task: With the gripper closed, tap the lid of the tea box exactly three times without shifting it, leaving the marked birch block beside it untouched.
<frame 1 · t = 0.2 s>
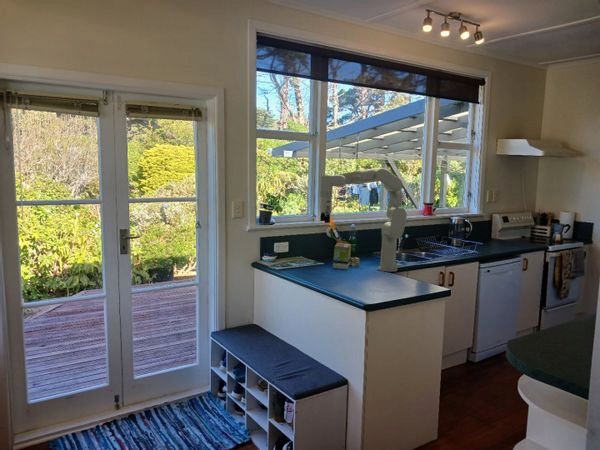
hand: (324, 221, 283), 31 cm above the worktop, tool pointing down, fingers open, 9 cm apart
tea box: (341, 266, 301), on the worktop
birch block: (354, 265, 306), on the worktop
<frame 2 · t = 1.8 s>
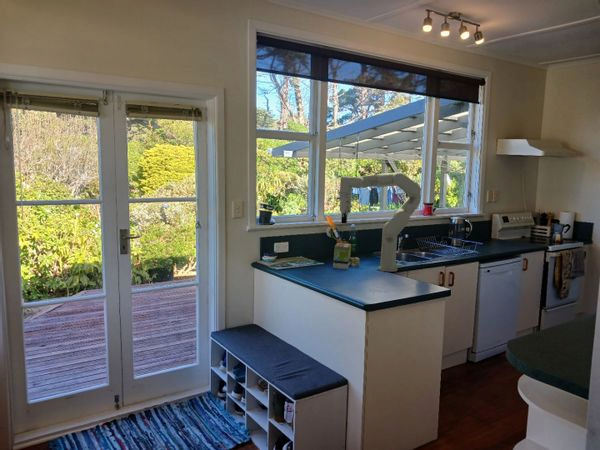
hand: (343, 223, 297), 29 cm above the worktop, tool pointing down, fingers closed
nothing on the worktop moved.
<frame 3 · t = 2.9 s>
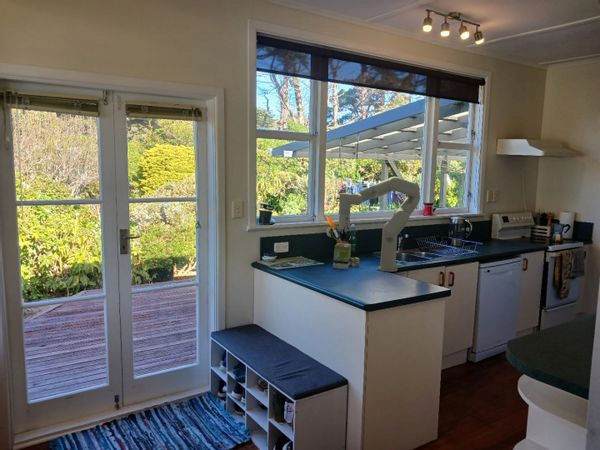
hand: (342, 239, 298), 18 cm above the worktop, tool pointing down, fingers closed
nothing on the worktop moved.
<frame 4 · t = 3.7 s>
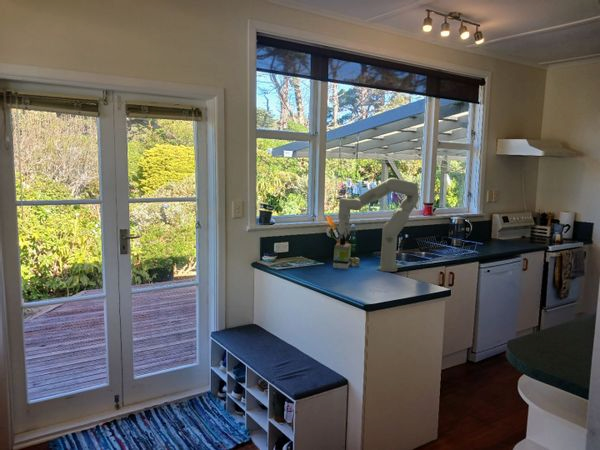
hand: (342, 244, 299), 15 cm above the worktop, tool pointing down, fingers closed
tea box: (341, 266, 301), on the worktop, touching gripper
everything else where it was.
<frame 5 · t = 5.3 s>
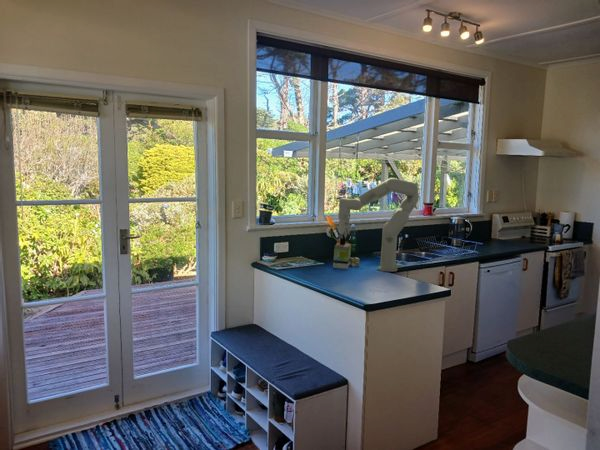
hand: (342, 244, 299), 15 cm above the worktop, tool pointing down, fingers closed
nothing on the worktop moved.
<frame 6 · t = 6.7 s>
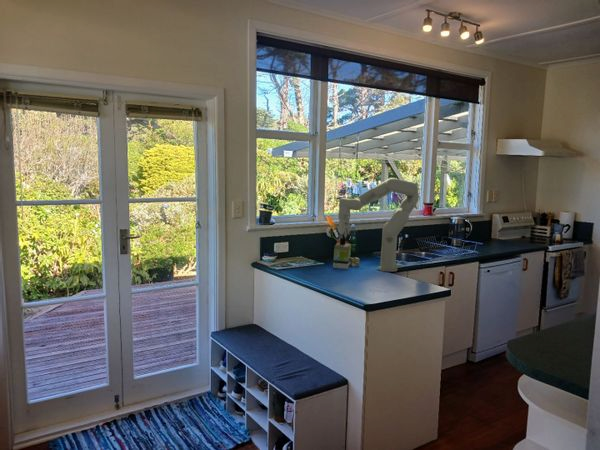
hand: (342, 244, 299), 15 cm above the worktop, tool pointing down, fingers closed
nothing on the worktop moved.
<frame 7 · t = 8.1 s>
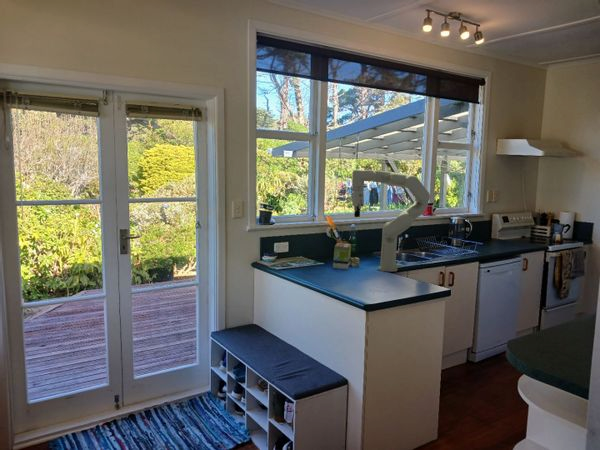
hand: (357, 216, 295), 34 cm above the worktop, tool pointing down, fingers closed
tea box: (341, 266, 301), on the worktop
everything else where it was.
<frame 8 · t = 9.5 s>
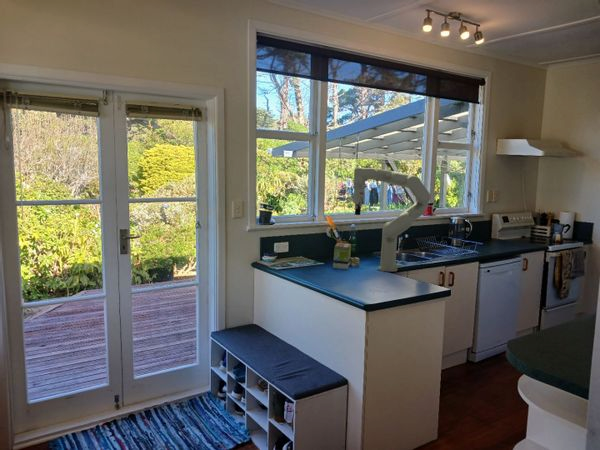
hand: (357, 214, 295), 35 cm above the worktop, tool pointing down, fingers closed
nothing on the worktop moved.
at the end: tea box moved 0.3 cm from its start; tea box tilted 0°; birch block moved 0.1 cm from its start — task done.
